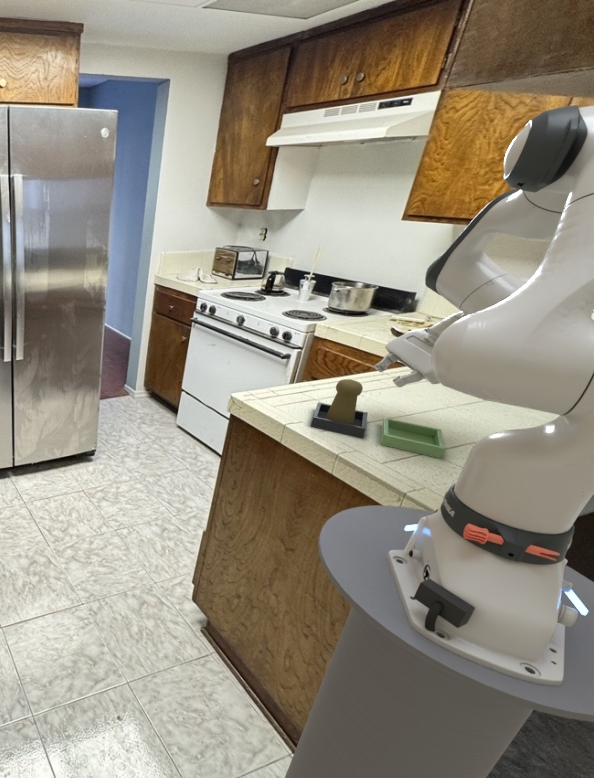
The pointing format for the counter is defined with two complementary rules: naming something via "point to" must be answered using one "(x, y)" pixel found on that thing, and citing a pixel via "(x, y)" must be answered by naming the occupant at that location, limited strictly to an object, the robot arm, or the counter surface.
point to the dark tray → (339, 427)
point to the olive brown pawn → (345, 401)
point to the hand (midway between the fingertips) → (385, 376)
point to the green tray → (412, 437)
